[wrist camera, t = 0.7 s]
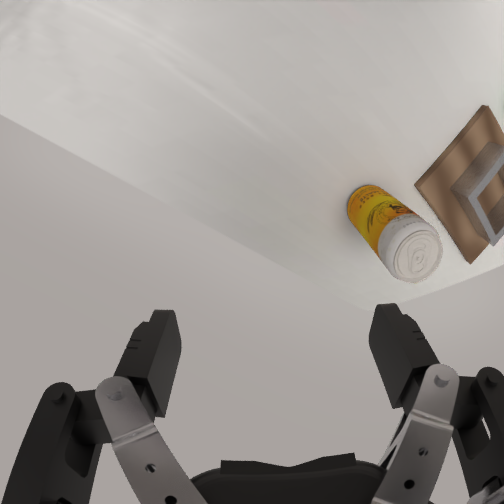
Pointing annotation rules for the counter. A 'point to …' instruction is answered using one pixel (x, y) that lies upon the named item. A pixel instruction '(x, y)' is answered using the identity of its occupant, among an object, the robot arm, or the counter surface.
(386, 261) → the beer can
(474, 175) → the pocket rim
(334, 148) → the counter surface
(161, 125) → the counter surface
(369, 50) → the counter surface
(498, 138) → the holder board
